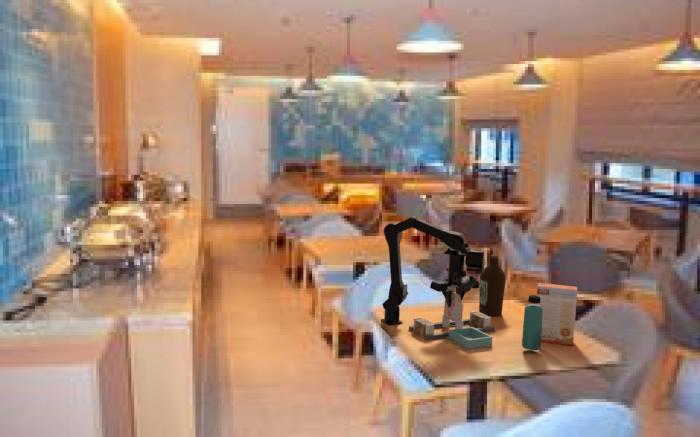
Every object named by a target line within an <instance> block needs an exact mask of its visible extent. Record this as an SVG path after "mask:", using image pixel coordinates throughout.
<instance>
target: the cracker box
mask: <svg viewBox="0 0 700 437" xmlns="http://www.w3.org/2000/svg"><path fill="white" fill-rule="evenodd" d="M536 296H539V297H540V303H535V304H536V305H539V306H541V307H542V309H543V316H542V323H543V324H542V332H541V333H542V334H541V338H542V339H541V342H544V343H552V344H561V345H567V346H573V345H574V338H575V336H574V334H575V326H576V313H577V300H578V286H571V285H561V284H552V283H544V282H542V283H541V282H538V283H537V288H536Z"/></svg>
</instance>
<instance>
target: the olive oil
mask: <svg viewBox="0 0 700 437" xmlns="http://www.w3.org/2000/svg"><path fill="white" fill-rule="evenodd" d="M489 256H490V257H489V264H488V265H487V266H484V269H481V272H480V274H479V300H478V301H479V303H478V312H481V313H483V314H485V315H487V316H489V317H500V316H502V314H503V305H504V296H505V289H506V288H505V287H506V280H507V278H506V273H505V271H504V270H503V269H502V268H501V266H500V265H499V255H498V254H490V255H489Z"/></svg>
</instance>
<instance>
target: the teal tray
mask: <svg viewBox="0 0 700 437" xmlns="http://www.w3.org/2000/svg"><path fill="white" fill-rule="evenodd" d="M448 332H449V337H447V338H448V339H447V340H449V339H450V341H451V342H453V343H455V344H457V345H458V344H459V346H460V347H462V348H463V349H466V350H467V351H470V350H475V349H484V348H491V347H492V346H493V336H491V335H489V334H487V333H486V332H484V333H483V332H481V331H479V330H477V329H475V327H473V326H468V327H463V328H459V329H455V328H452V329H448Z"/></svg>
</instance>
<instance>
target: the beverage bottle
mask: <svg viewBox="0 0 700 437" xmlns="http://www.w3.org/2000/svg"><path fill="white" fill-rule="evenodd" d="M527 302H528V303H529V304H527V305H526V306H524V313H523V323H522V334H521V336H522V338H521V342H522V343H521V346H522V348H523V349H525V350H528V351H539V350H540V349H541V346H542V341H541V339H542V338H541V334H542V333H541V332H542V324H543V323H542V316H543V309H542V307H541V306H539V305H536V303H540V297H539V296H537V294H536V295H535V294H531V295H530V294H529V295H528V300H527Z"/></svg>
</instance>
